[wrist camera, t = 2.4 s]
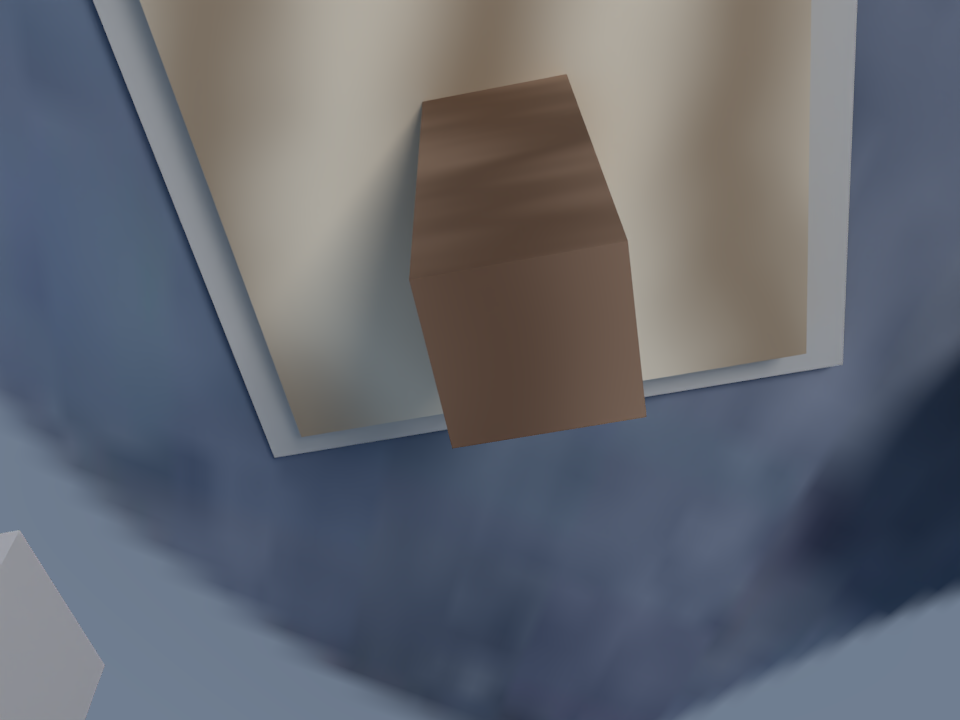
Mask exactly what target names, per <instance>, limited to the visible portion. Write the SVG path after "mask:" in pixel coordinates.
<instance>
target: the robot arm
mask: <svg viewBox="0 0 960 720" xmlns="http://www.w3.org/2000/svg"><path fill="white" fill-rule="evenodd" d="M104 666H105V665H104V663H103V662H102V660H101V658H100V657H99V655H98V654H97V652H96V651H95V649H94V647H93V646H92V644H91V643H90V641H89V639H88V638H87V636H86V635H85V633H84V631H83V630H82V628H81V627H80V625H79V623H78V622H77V620H76V619H75V617H74V616H73V614H72V612H71V611H70V609H69V608H68V606H67V605H66V603H65V601H64V600H63V598H62V597H61V595H60V594H59V592H58V590H57V589H56V587H55V585H54V584H53V582H52V581H51V579H50V578H49V576H48V574H47V573H46V571H45V570H44V568H43V566H42V565H41V563H40V562H39V560H38V558H37V557H36V555H35V554H34V552H33V551H32V549H31V547H30V546H29V544H28V543H27V541H26V540H25V538H24V536H23V535H22V533H21V532H20V530H18V531H12V532H6V533H0V720H85V718H86V716H87V713H88V710H89V707H90V705H91V702H92V699H93V696H94V694H95V691H96V688H97V685H98V682H99V680H100V677H101V674H102V671H103V669H104Z"/></svg>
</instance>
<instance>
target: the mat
mask: <svg viewBox="0 0 960 720" xmlns="http://www.w3.org/2000/svg"><path fill="white" fill-rule="evenodd" d="M93 2H94V4H95V7H96V9H97V12H98V14H99V17H100V19H101V22H102V24H103V27H104V30H105V32H106V35H107V37H108V40H109V42H110V45H111V47H112V50H113V52H114V55H115V57H116V60H117V62H118V65H119V67H120V70H121V72H122V75H123V77H124V80H125V82H126V85H127V87H128V90H129V92H130V95H131V97H132V100H133V103H134V105H135V108H136V110H137V113H138V115H139V118H140V120H141V123H142V125H143V128H144V130H145V133H146V135H147V138H148V140H149V143H150V145H151V148H152V150H153V153H154V155H155V158H156V160H157V163H158V165H159V168H160V171H161V173H162V176H163V178H164V181H165V183H166V186H167V188H168V191H169V193H170V196H171V198H172V201H173V203H174V206H175V208H176V211H177V213H178V216H179V218H180V221H181V223H182V226H183V228H184V231H185V233H186V236H187V239H188V241H189V244H190V246H191V249H192V251H193V254H194V256H195V259H196V261H197V264H198V266H199V269H200V271H201V274H202V276H203V279H204V281H205V284H206V286H207V289H208V291H209V294H210V296H211V299H212V301H213V304H214V306H215V309H216V312H217V314H218V317H219V319H220V322H221V324H222V327H223V329H224V332H225V334H226V337H227V339H228V342H229V344H230V347H231V349H232V352H233V354H234V357H235V359H236V362H237V364H238V367H239V369H240V372H241V374H242V377H243V380H244V382H245V385H246V387H247V390H248V392H249V395H250V397H251V400H252V402H253V405H254V407H255V410H256V412H257V415H258V417H259V420H260V422H261V425H262V427H263V430H264V432H265V435H266V437H267V440H268V442H269V445H270V448H271V450H272V453H273V455H274V458H276V457H282V456H288V455H294V454H300V453H306V452H313V451H319V450H325V449H331V448H337V447H343V446H349V445H355V444H361V443H367V442H373V441H380V440H386V439H392V438H398V437H404V436H410V435H416V434H422V433H428V432H434V431H441V430H447V425H446V422H445V418H444V414H439V415H433V416H427V417H421V418H415V419H409V420H403V421H397V422H390V423H384V424H378V425H372V426H366V427H360V428H354V429H348V430H342V431H336V432H330V433H324V434H318V435H312V436H306V437H301V435H300V432H299V429H298V427H297V424H296V421H295V419H294V416H293V413H292V410H291V408H290V405H289V402H288V400H287V397H286V394H285V392H284V389H283V386H282V383H281V381H280V378H279V375H278V373H277V370H276V367H275V365H274V362H273V359H272V356H271V354H270V351H269V348H268V346H267V343H266V340H265V338H264V335H263V332H262V330H261V327H260V324H259V321H258V319H257V316H256V313H255V311H254V308H253V305H252V303H251V300H250V297H249V294H248V292H247V289H246V286H245V284H244V281H243V278H242V276H241V273H240V270H239V267H238V265H237V262H236V259H235V257H234V254H233V251H232V249H231V246H230V243H229V240H228V238H227V235H226V232H225V230H224V227H223V224H222V222H221V219H220V216H219V213H218V211H217V208H216V205H215V203H214V200H213V197H212V195H211V192H210V189H209V186H208V184H207V181H206V178H205V176H204V173H203V170H202V168H201V165H200V162H199V159H198V157H197V154H196V151H195V149H194V146H193V143H192V141H191V138H190V135H189V132H188V130H187V127H186V124H185V122H184V119H183V116H182V114H181V111H180V108H179V105H178V103H177V100H176V97H175V95H174V92H173V89H172V87H171V84H170V81H169V78H168V76H167V73H166V70H165V68H164V65H163V62H162V60H161V57H160V54H159V51H158V49H157V46H156V43H155V41H154V38H153V35H152V33H151V30H150V27H149V24H148V22H147V19H146V16H145V14H144V11H143V8H142V6H141V3H140V0H93ZM856 21H857V0H811V61H810V132H809V204H808V275H807V346H806V354H802V355H796V356H790V357H784V358H777V359H771V360H765V361H759V362H753V363H747V364H741V365H735V366H729V367H723V368H717V369H711V370H705V371H699V372H693V373H687V374H681V375H675V376H669V377H663V378H657V379H650V380H644V381H643V389H644V397H648V396H654V395H660V394H666V393H672V392H678V391H684V390H691V389H697V388H703V387H709V386H715V385H721V384H727V383H733V382H739V381H745V380H752V379H758V378H764V377H770V376H776V375H782V374H788V373H794V372H800V371H806V370H813V369H819V368H825V367H831V366H837V365H843V343H844V318H845V294H846V269H847V244H848V219H849V195H850V170H851V145H852V120H853V96H854V71H855V46H856Z"/></svg>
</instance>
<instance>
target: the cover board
mask: <svg viewBox="0 0 960 720" xmlns="http://www.w3.org/2000/svg"><path fill="white" fill-rule="evenodd" d="M140 3H141V6H142V8H143V11H144V14H145V16H146V19H147V22H148V24H149V27H150V30H151V33H152V35H153V38H154V41H155V43H156V46H157V49H158V51H159V54H160V57H161V60H162V62H163V65H164V68H165V70H166V73H167V76H168V78H169V81H170V84H171V87H172V89H173V92H174V95H175V97H176V100H177V103H178V105H179V108H180V111H181V114H182V116H183V119H184V122H185V124H186V127H187V130H188V132H189V135H190V138H191V141H192V143H193V146H194V149H195V151H196V154H197V157H198V159H199V162H200V165H201V168H202V170H203V173H204V176H205V178H206V181H207V184H208V186H209V189H210V192H211V195H212V197H213V200H214V203H215V205H216V208H217V211H218V213H219V216H220V219H221V222H222V224H223V227H224V230H225V232H226V235H227V238H228V240H229V243H230V246H231V249H232V251H233V254H234V257H235V259H236V262H237V265H238V267H239V270H240V273H241V276H242V278H243V281H244V284H245V286H246V289H247V292H248V294H249V297H250V300H251V303H252V305H253V308H254V311H255V313H256V316H257V319H258V321H259V324H260V327H261V330H262V332H263V335H264V338H265V340H266V343H267V346H268V348H269V351H270V354H271V356H272V359H273V362H274V365H275V367H276V370H277V373H278V375H279V378H280V381H281V383H282V386H283V389H284V392H285V394H286V397H287V400H288V402H289V405H290V408H291V410H292V413H293V416H294V419H295V421H296V424H297V427H298V429H299V432H300V435H301V437H306V436H312V435H318V434H324V433H330V432H336V431H342V430H348V429H354V428H360V427H366V426H372V425H378V424H384V423H390V422H397V421H403V420H409V419H415V418H421V417H427V416H433V415H439V414H444V418H445V422H446V425H447V429H448V433H449V437H450V441H451V445H452V448H458V447H464V446H470V445H476V444H483V443H489V442H495V441H501V440H507V439H513V438H520V437H526V436H532V435H538V434H544V433H550V432H557V431H563V430H569V429H575V428H581V427H587V426H594V425H600V424H606V423H612V422H618V421H624V420H631V419H637V418H643V417H646V408H645V398H644V389H643V381H644V380H650V379H657V378H663V377H669V376H675V375H681V374H687V373H693V372H699V371H705V370H711V369H717V368H723V367H729V366H735V365H741V364H747V363H753V362H759V361H765V360H771V359H777V358H784V357H790V356H796V355H802V354H806V346H807V275H808V204H809V132H810V61H811V0H140Z"/></svg>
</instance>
